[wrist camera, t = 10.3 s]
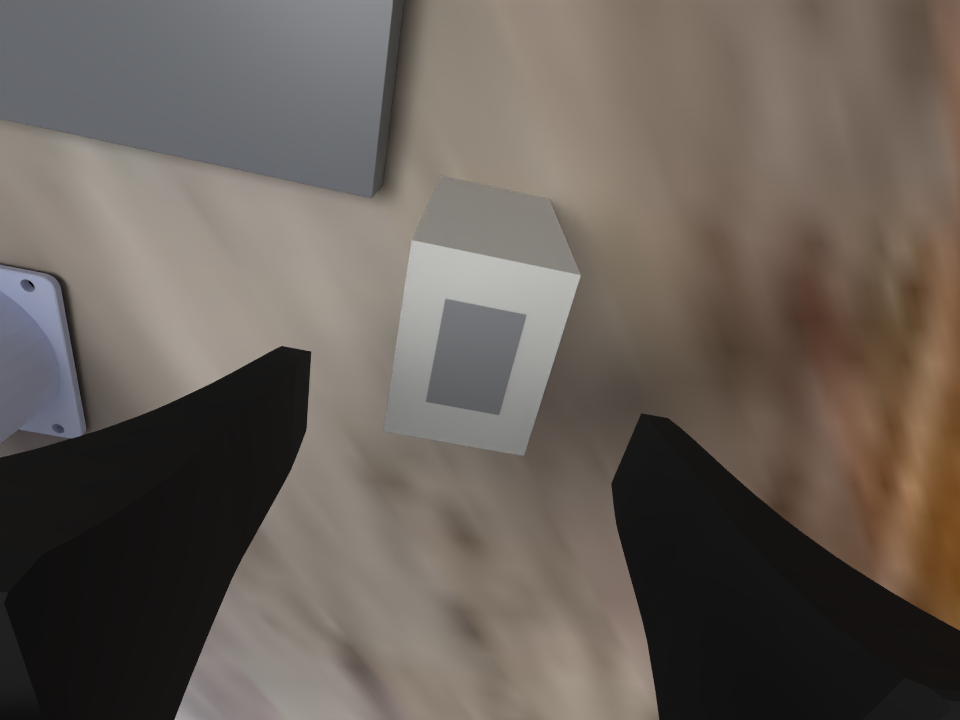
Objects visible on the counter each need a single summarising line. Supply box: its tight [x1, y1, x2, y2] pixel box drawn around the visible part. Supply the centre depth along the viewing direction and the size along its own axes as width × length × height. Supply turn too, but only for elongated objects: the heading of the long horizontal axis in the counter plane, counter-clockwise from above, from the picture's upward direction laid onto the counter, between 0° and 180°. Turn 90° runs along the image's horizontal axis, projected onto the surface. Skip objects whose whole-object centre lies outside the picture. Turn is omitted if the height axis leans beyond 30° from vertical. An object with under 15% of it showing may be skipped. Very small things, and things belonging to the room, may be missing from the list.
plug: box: [383, 175, 581, 456], centre depth 17 cm, size 4×6×8 cm
